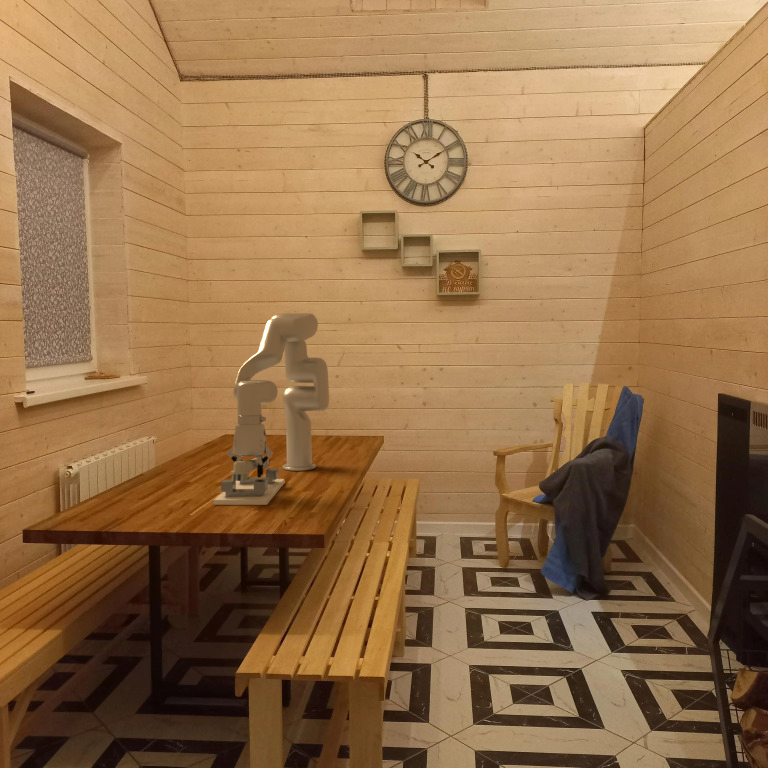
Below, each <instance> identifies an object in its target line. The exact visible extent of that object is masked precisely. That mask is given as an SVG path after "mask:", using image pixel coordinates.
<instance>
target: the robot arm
mask: <svg viewBox="0 0 768 768" xmlns="http://www.w3.org/2000/svg"><path fill="white" fill-rule="evenodd" d="M318 325H319V323H318V318H317V317H316V315H315V314H313V313H310V312H309V313H308V312H303V313H301V312H298V313H297V312H296V313H295V312H294V313H291V312H290V313H288V312H287V313H277V314H274V315H273V316H272V317H271V318H270V319H269V320H267V322H266V324H265V326H264V328H263V332H262V336H261V338H260V343H259V346H258V349H257V352H256V353H255V354H253V355H252V356H251V357H250V358H249V359H247V360H246V361H245V362H244V363H243V364H242V366H241V367H240V368H239V369H238V373H237V374H236V377H235V381H234V383H233V384H234V385H233V392H232V393H233V396H234V399H235V400H236V402H237V424H235V427H234V432H233V433H234V434H233V445H232V446H231V448H230V449H228V451H227V452H226V456H228V457H229V458H230V459H231V460H232V461H233V462H234V463H235V462H237V461H243V459H244V457H255V458H257V459H258V462H259V463H258V466H257V469H256V470H257V473H256V474H257V475H256V477H258V478H260V477H263V474H264V469H263V464H264V463H265V462H266V461H267V460H268V459H269V460H270V458H271V457H272V456H273V455H274V452H273V450H272V449H271V448H270V447H269V446H268V444H267V433H266V428H265V424H264V423H263V422H266V421H267V417H266V416H263V414H262V404H269V403H272V402H273V401H275V400H276V398H277V397H278V391H279V390H278V386H277V385H276V384H275V382H273V381H272V380H260V379H259V380H257V379H255V380H254V379H252V378H253V377H254V376H255V375H257V374H258V373H260V372H262V371H265V370H267V369H269V368H272V367H274V366H277V365H278V364H279V363H280V362H282V359H283V355H284V368H285V377H286V380H288V381H289V382H290V383H297V384H298V383H303V384H305V383H306V384H307V383H308V384H313V385H291V386H288V387H286V389H285V390H284V391H283V395H282V400H283V407H284V412H285V431H286V432H285V433H286V437H285V438H286V441H285V442H286V445H285V446H286V463H284V464H283V465H282V469H283V470H285V471H290V472H291V471H292V472H293V471H294V472H296V471H297V472H301V471H310V470H313V469H315V468H316V467H317V465H316V463H315V462H313V461H312V460H313V459H312V456H313V455H312V421H311V419H310V417H309V415H308V414H307V412H324V411H326V410H327V409H328V407H329V404H330V390H329V389H330V388H329V371H328V365H327V363H326V360H325V359H323V358H322V357H309V356H308V349H307V347H308V346H307V342H306V340H308V339H310V338H313V337H314V336H315V335H316V333H317V331H318V329H319V328H318V327H319V326H318ZM262 423H263V424H262ZM266 453H267V454H266ZM265 454H266V455H265ZM264 455H265V456H264ZM263 456H264V458H263Z"/></svg>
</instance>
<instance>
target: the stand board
mask: <svg viewBox="0 0 768 768" xmlns="http://www.w3.org/2000/svg"><path fill="white" fill-rule="evenodd" d="M283 485H285V478H277V479H276V480H275V482H274V483H273V484H268V489H267V490H266V491H265V492H264V494H263V495H262V496H261V497H226V493H225V492H221V493H220V494H219V495H218V496H216V497H215V498H214V499H213V505H214V506H218V505H220V506H221V505H222V506H225V505H226V506H229V505H230V506H231V505H232V506H235V505H237V506H244V505H245V506H248V505H249V506H250V505H251V506H255V505H257V506H258V505H259V506H262V505H263V506H264V505H265V506H267V505H268V504H269V503H270V501H271V500H272V499H273V498H274V497H275V495H277V493H278V492H279V491H280V489H281V488H283ZM236 489H254V484H240V481H236Z"/></svg>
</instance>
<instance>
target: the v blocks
mask: <svg viewBox="0 0 768 768" xmlns="http://www.w3.org/2000/svg"><path fill="white" fill-rule="evenodd" d="M248 471H249V472H250V470H248ZM276 479H279V467H278V468H277V467H276V468H271V467H267V468H266V469H265V476H261V477H260V478H258V477H257V476H250V473H249V474H248V478H247V480H246V481H244V480H242V481H240V484H254V489H236V481H232V479H224V480H222V481H221V482H220V487H221V493H222V492H225V493H226V497H261V496H262V495H263V494H264V492H265V491H266V490H267V489H268V484H273V483H274V482H275V480H276Z"/></svg>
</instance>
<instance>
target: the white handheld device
mask: <svg viewBox="0 0 768 768" xmlns="http://www.w3.org/2000/svg"><path fill="white" fill-rule="evenodd" d="M262 456H263V458H264V457H265V456H264V455H262ZM258 463H259V462H258V459H257V457H255V458H251V459H247V460H244V461H243V460H242V461H237V462H234V463H233V469H232V470H231V471H230V475H231V480H232V481H242V480H244V481H246V480H247V478H248V474H249V475H250V471H254V470H257V466H258ZM270 465H271V460H270V458H269V459H268V460H267V461H266V462H265V463H264V464H263V470H265V469H268V468H269V466H270ZM248 470H249V471H248Z"/></svg>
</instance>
